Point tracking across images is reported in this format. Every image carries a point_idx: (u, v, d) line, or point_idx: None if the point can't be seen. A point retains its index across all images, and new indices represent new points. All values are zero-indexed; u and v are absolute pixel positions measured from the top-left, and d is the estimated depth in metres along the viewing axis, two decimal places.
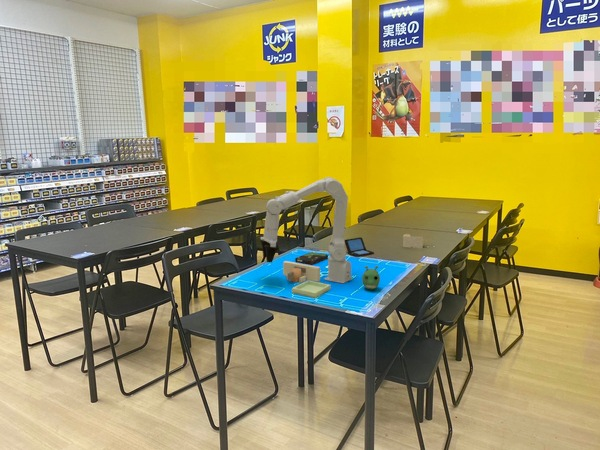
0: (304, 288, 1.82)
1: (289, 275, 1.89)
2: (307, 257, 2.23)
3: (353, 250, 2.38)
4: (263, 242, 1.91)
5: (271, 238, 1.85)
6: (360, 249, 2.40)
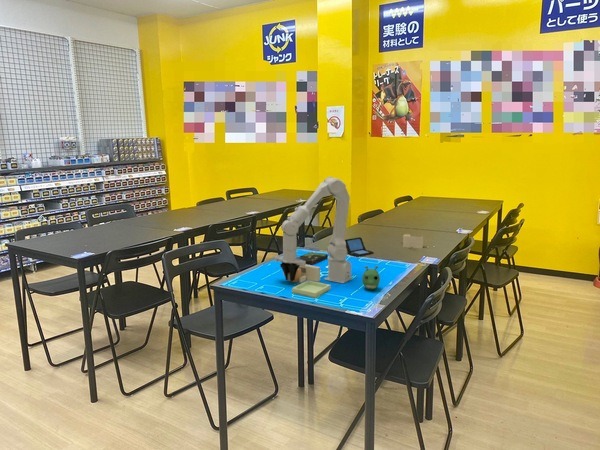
0: (304, 288, 1.82)
1: (289, 275, 1.89)
2: (307, 257, 2.23)
3: (353, 250, 2.38)
4: (285, 266, 1.88)
5: (295, 258, 1.87)
6: (360, 249, 2.40)
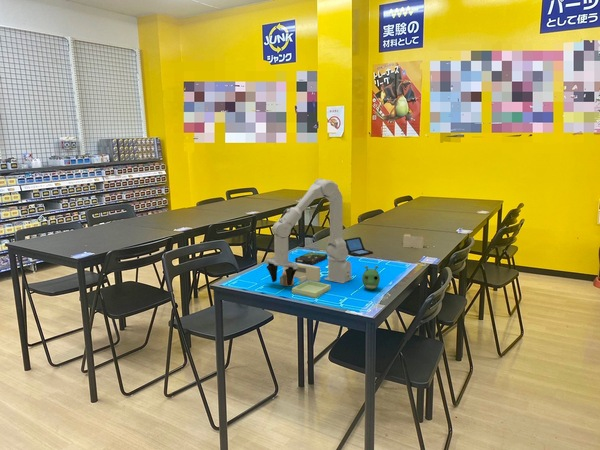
0: (304, 288, 1.82)
1: (281, 279, 1.84)
2: (307, 257, 2.22)
3: (352, 250, 2.38)
4: (271, 267, 1.84)
5: (287, 261, 1.82)
6: (359, 249, 2.41)
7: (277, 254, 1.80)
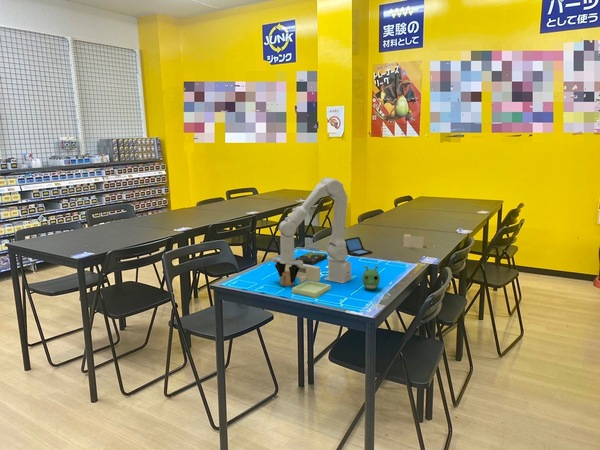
0: (304, 288, 1.82)
1: (281, 278, 1.84)
2: (307, 257, 2.22)
3: (352, 250, 2.38)
4: (279, 266, 1.87)
5: (292, 259, 1.85)
6: (358, 249, 2.41)
7: (283, 252, 1.84)
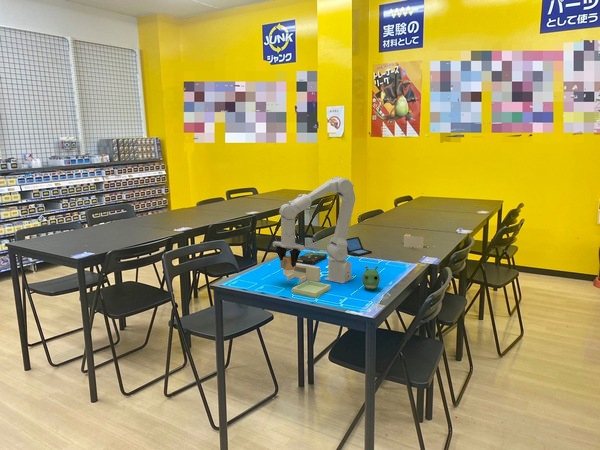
0: (304, 288, 1.82)
1: (282, 262, 1.83)
2: (307, 257, 2.22)
3: (351, 250, 2.38)
4: (280, 250, 1.86)
5: (293, 243, 1.83)
6: (358, 248, 2.41)
7: (284, 236, 1.82)
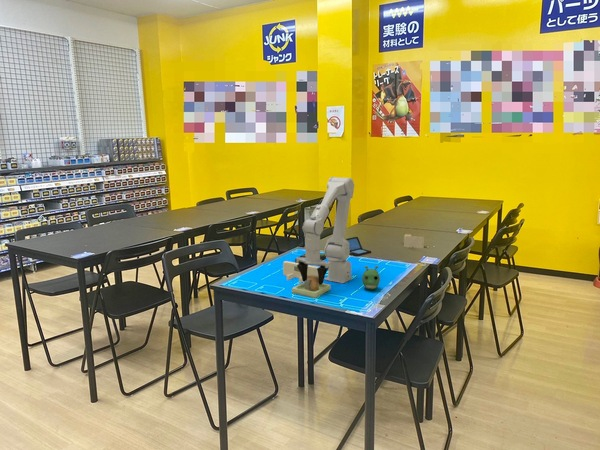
0: (304, 288, 1.82)
1: (306, 283, 1.76)
2: None
3: (351, 250, 2.39)
4: (302, 266, 1.80)
5: (318, 259, 1.77)
6: (357, 248, 2.42)
7: (309, 252, 1.75)
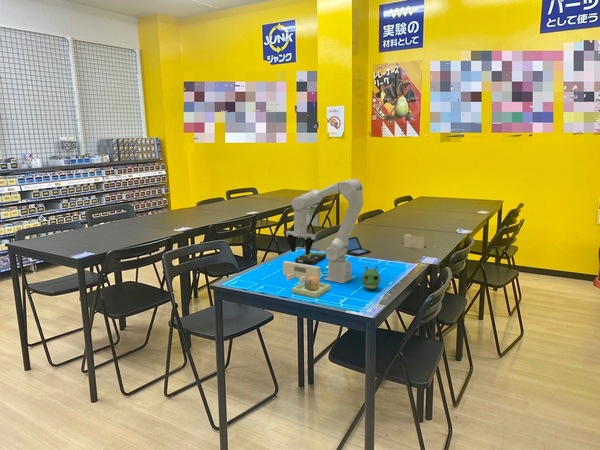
0: (304, 288, 1.82)
1: (306, 283, 1.76)
2: (307, 257, 2.22)
3: (350, 249, 2.39)
4: (291, 239, 2.02)
5: (305, 232, 1.99)
6: (357, 248, 2.42)
7: (297, 226, 1.97)
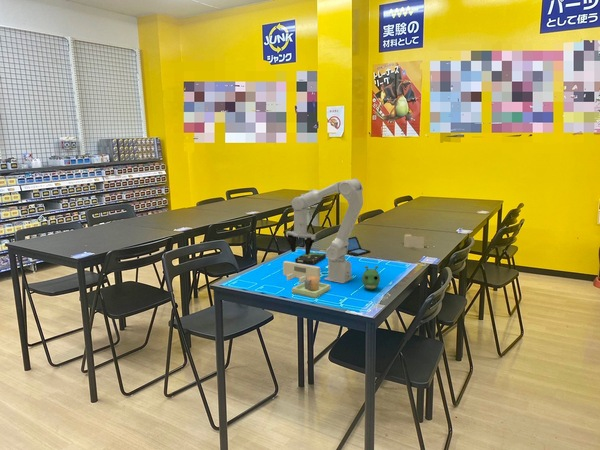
0: (304, 288, 1.82)
1: (306, 283, 1.76)
2: (307, 257, 2.22)
3: (350, 249, 2.39)
4: (291, 239, 2.02)
5: (305, 232, 1.99)
6: (356, 248, 2.42)
7: (297, 226, 1.97)
